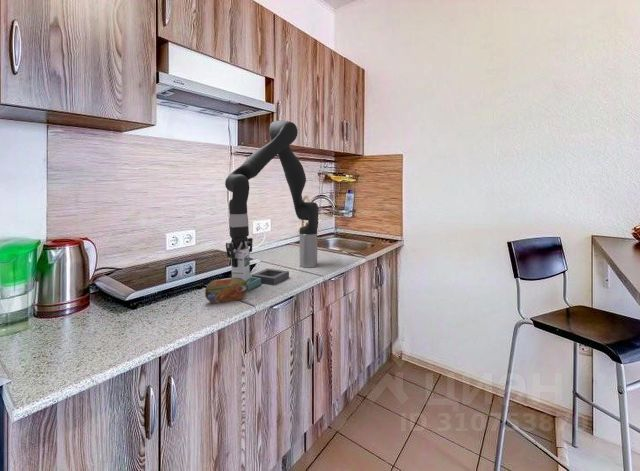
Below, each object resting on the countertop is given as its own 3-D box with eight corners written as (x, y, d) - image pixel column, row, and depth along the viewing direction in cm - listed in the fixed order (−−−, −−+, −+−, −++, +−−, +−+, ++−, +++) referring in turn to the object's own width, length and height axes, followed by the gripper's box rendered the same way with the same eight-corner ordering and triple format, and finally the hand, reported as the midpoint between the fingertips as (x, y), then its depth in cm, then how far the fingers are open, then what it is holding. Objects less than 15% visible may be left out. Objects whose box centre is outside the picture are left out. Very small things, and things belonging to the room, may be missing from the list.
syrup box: (245, 285, 126) (243, 250, 124) (231, 284, 127) (229, 250, 125) (251, 281, 132) (249, 247, 129) (238, 280, 133) (236, 247, 130)
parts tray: (239, 281, 137) (239, 274, 137) (261, 285, 132) (260, 278, 132) (220, 289, 127) (220, 282, 126) (243, 293, 122) (243, 286, 121)
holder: (267, 274, 148) (267, 268, 147) (289, 277, 143) (288, 271, 142) (251, 281, 137) (251, 274, 137) (274, 285, 132) (274, 278, 131)
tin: (206, 305, 111) (204, 282, 109) (205, 302, 113) (204, 279, 112) (248, 299, 116) (247, 277, 115) (246, 296, 119) (246, 275, 118)
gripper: (243, 222, 133) (244, 260, 136) (218, 226, 120) (221, 268, 123) (257, 223, 130) (258, 262, 133) (234, 227, 117) (236, 270, 120)
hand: (240, 264), depth 128 cm, fingers closed on syrup box, 6 cm apart
